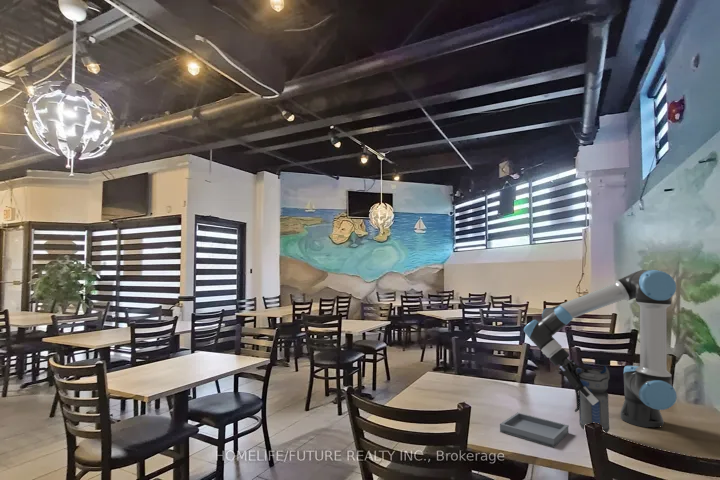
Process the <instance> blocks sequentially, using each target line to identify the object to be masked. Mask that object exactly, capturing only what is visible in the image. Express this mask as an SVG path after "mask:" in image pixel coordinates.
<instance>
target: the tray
mask: <svg viewBox="0 0 720 480" xmlns="http://www.w3.org/2000/svg"><path fill="white" fill-rule="evenodd" d="M499 432H500V433H502V434H506V435H511V436H513V437H517V438H520V439H523V440H527V441H530V442H533V443H537V444H540V445H543V446H546V447H550V448H552V449H553V448H555V447H556V446H557V445H558V444H559V443H560V442H562V440H563V439H564V438H566V436H567V435H568V434H569V424H564V423H561V422H557V421H554V420H549V419H544V418H541V417H537V416H535V415H534V416H532V415H530V414H525V413H522V412H521V413H520V412H516V413H514V414H513V415H511V416H510V417H509V418H507V419H505V420H504V421H502V422H501V423H499Z"/></svg>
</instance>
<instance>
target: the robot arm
mask: <svg viewBox="0 0 720 480" xmlns="http://www.w3.org/2000/svg"><path fill="white" fill-rule="evenodd" d="M676 290H677V284H676V281H675V279H674V278H673V276H671V275H670V273H667V272H665V271H662V270H657V269H648V270H647V269H642V270H637V271H635V272H633V273H631V274H628V275H626V276H624V277H621V278H619V279H616V280H615V282H614V283H613V284H610V285H607V286H605V287H603V288H600V289H597V290H595V291H591V292H590V293H587V294H584V295H582V296H579V297H576V298H573V299H571V300H569V301H568V300H567V301H565V302H562V303H561V304H558V305H555V306H553V307H545V308H544V310H543V311H542V313H541V318H542V319H541V320H540V321H538V320H537V319H532V320H531V321H530V322H529V323H527V324H526V325H525V326H524V328H523V332H524V333H525V335H526V336H527V337H528V339H529V340H531V341H532V343H534V345H535V346H536V347H538V349H539V350H540V351H541V352H542V355H545V357H546V358H549V361H550V362H551V363H552V364H553V366H555V367H557V366H559V368H558V370H559V371H560V372H561V373H562V374H563V376H564V377H565V379H567V381H568V382H569V383H570V385H571V386H572V388H574V391H575V390H576V391H577V392H578V393H579V391H580V392H581V393H582V394H583V395H584V396H585V397H586V398H587V400H588V401H589V402H590V403H591V404H592V405H594V404H596V403H597V402H598V399H597V398H596V397H595V396H594V395H593V394H592V393H591V392H590V391H589V390H588V389H587V388H586V387H584V386H583V385H582V383H581V381H580V380H579V378H578V375H577V374H576V373H575V370H574V371H571V368H572V367H573V366H575V365H578V364H577V362H576V361H575V360H573V359H571V360H570V359H569V357H570V353H569V352H568V351H566V349H565V348H562V347H563V346H562V345H561V344H560V343H559V342H558V341H557V340H556V339H555V338H554V337H553V336H554V335H555V334H557V333H558V332H559V331H560V330H562V329H563V328H564V327H566V326H567V325H568V324H569V323H570V322H571V321H573V319H574V318H577V317H580V316H582V315H583V316H584V315H585V314H588V313H590V312H594V311H596V310H600V309H601V308H605V307H608V306H610V305H613V304H615V303H619V302H622V301H623V300H624V301H627V302H628V301H630V300H634V299H635V303H636V304H637V305H638V306H639V338H640V339H639V366H638V365H626V366H624V368H623V385H624V386H623V388H624V390H623V391H624V402H623V404H622V407H621V410H620V412H619V414H620V419H621V420H622V421H624V422H626V423H628V424H631V425H634V426H637V427H643V428H648V427H660V426H663V424H664V418H663V416H662V414H661V411H664V410H667V409H670V408H671V407H673V406H674V405H675V403H676V402H677V400H678V399H677V398H678V396H677V391H676V390H675V387H674V386H673V382H672V380H673V379H672V374H671V372H669V371H668V369H667V362H668V361H667V356H668V355H667V350H668V349H667V345H668V344H667V309H668V308H669V307H671V306H672V297H673V296H674V295H675V293H676V292H677V291H676ZM581 369H582V368H581ZM582 371H584V370H583V369H582ZM663 427H664V426H663Z"/></svg>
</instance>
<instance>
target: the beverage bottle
mask: <svg viewBox="0 0 720 480" xmlns="http://www.w3.org/2000/svg"><path fill="white" fill-rule="evenodd" d="M581 368H582V369H583V370H584V371H582V369H581ZM574 370H575V373H576V374H577V375H578V376H577V377H578V378H579V380H580V381H581V383H582V385H583V386H584V387H586V388H587V389H588V390H589V391H590V392H591V393H592V394H593V395H594V396H595V397H596V398H597V399H598V402H597V403H596V404H594V405H592V404H591V403H590V402H589V401H588V400H587V398H586V397H585V396H584V395H583V394H582V393H581V392H580V391H578V392H577V391H576V390H575V389H574V392H575V398H576V399H575V401H576V402H575V403H576V408H575V410H574V412H575V413H576V412H578V411H579V412H578V413H579V425H580V428H581V429H583V430H584V425H585V424H588V423H593V422H595V423H599V424H601V425H602V427H603V430H604V431H605V432H606V433H605V434H607V433H608V432H609V430H610V415H609V414H610V412H609V393H608V392H607V390H608V389H609V380H610V379H611V376H610V375H611V374H610V371H609V369H608V367H607V366H606V365H603V370H602V369H596V368H593V367H586V366H582V365H579V364H577V365H575V366H573V367H572V368H571V371H574Z"/></svg>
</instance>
